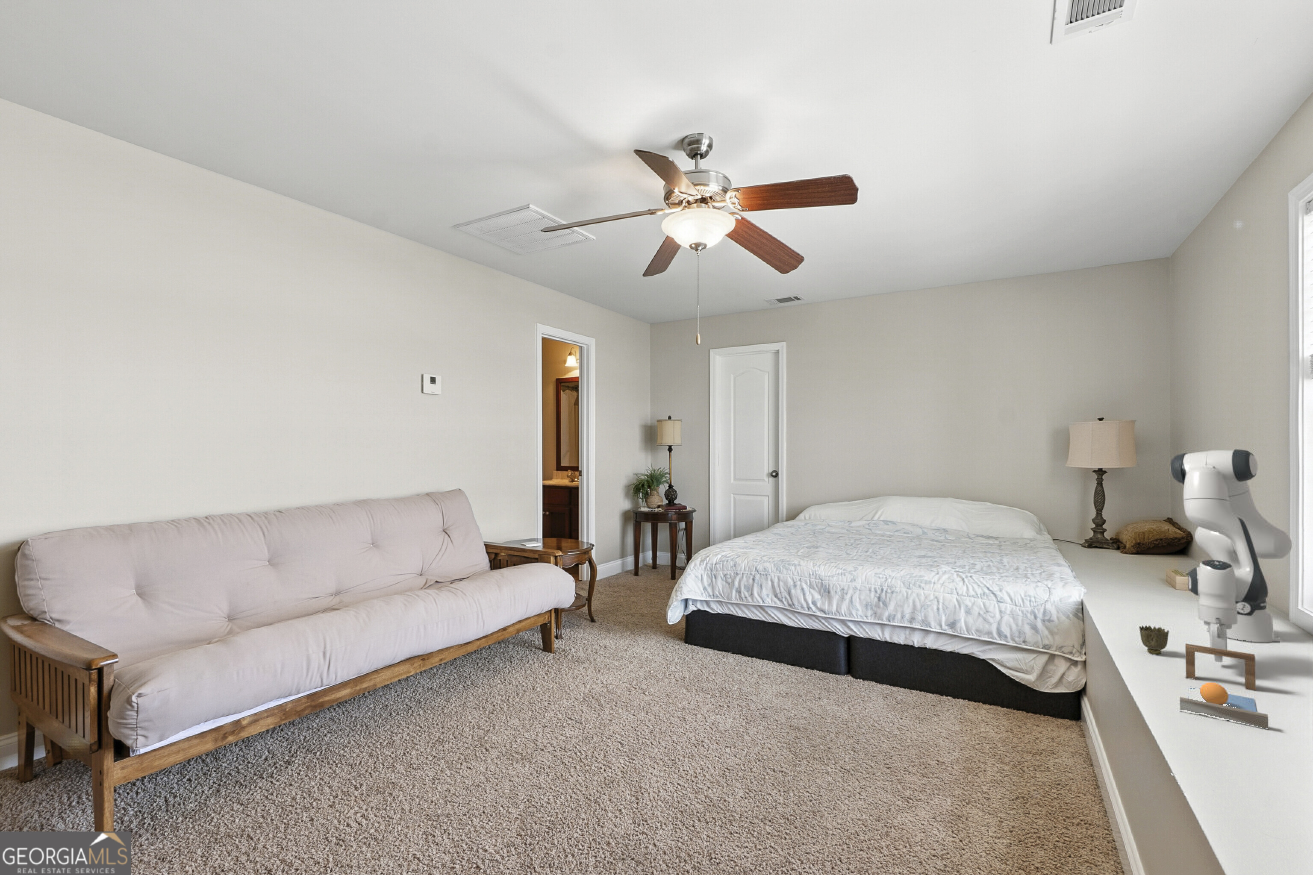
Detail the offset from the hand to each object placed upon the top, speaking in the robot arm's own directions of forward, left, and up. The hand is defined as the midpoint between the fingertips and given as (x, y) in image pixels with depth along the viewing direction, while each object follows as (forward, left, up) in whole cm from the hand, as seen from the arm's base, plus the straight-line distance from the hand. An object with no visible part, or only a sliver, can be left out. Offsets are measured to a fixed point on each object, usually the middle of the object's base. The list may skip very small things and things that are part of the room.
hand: (1218, 660), depth 188 cm
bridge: (+17, 0, -2) cm, 17 cm away
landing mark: (+33, 0, -2) cm, 33 cm away
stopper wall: (+47, 0, -2) cm, 47 cm away
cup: (-2, -15, -2) cm, 16 cm away
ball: (+37, -1, +1) cm, 37 cm away
